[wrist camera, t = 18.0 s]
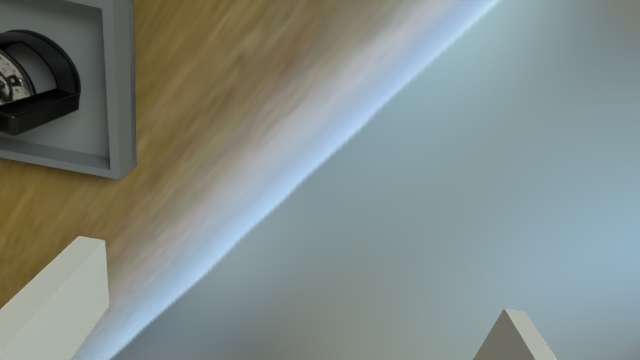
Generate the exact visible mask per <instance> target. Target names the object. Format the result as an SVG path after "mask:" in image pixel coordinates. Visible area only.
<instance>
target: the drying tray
mask: <svg viewBox="0 0 640 360" xmlns="http://www.w3.org/2000/svg"><path fill="white" fill-rule="evenodd" d="M15 29H23V30H30V31H34V32H37V33H40V34H42V35H44V36H46V37H48V38H49V39H51V40H53V41H54V42H56V43H57V44H58V45H59V46H60V47H61V48H62V49H63V50H64V51H65V52H66V53H67V54H68V55H69V57H70V58H71V60H72V61H73V63H74V64H75V66H76V69H77V71H78V73H79V77H80V81H81V94H80V100H79V110H77V111H75V112H72V113H70V114H68V115H65V116H63V117H60V118H58V119H56V120H53V121H51V122H48V123H46V124H44V125H41V126H39V127H36V128H34V129H32V130H29V131H27V132H24V133H22V134H19V135H16V136H12V135H8V134H4V133H1V132H0V158H5V159H11V160H16V161H22V162H27V163H32V164H38V165H43V166H49V167H54V168H59V169H65V170H70V171H75V172H81V173H86V174H92V175H97V176H102V177H108V178H113V179H119V180H120V179H121V178H123V177H124V176H125V175H126V174H127V173H129V172H130V171H131V170H132V169H133V168H134V167H136V117H135V61H134V5H133V0H0V33H4V32H6V31H9V30H15ZM6 52H7V53H9V54H10V55H11V56H12V57H13V58H15V59H16V60H17V61H18V62H19V63H20V64H21V66H22V67H23V68H24V69H25V71H26V72H27V73H28V75H29V76H30V78H31V80H32V82H33V84H34V87H35V89H36V93H37V94H38V93H41V92H45V91H48V90H51V89H55V88H57V86H56V82H55V79H54V77H53V75H52V73H51V71H50V69H49V68H48V66H47V65H46V63H45V62H44V61H43V60H42V58H41V57H40V56H39V55H38V54H37V53H35V52H34V51H33V50H32V49H31V48H29V47H28V46H26V45H25V44H23V43H16V44H13V45H11V46H10V47H9V48H7V49H6Z"/></svg>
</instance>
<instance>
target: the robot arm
mask: <svg viewBox="0 0 640 360" xmlns="http://www.w3.org/2000/svg"><path fill="white" fill-rule="evenodd" d="M108 307H109V294H108V279H107V265H106V250H105V240H99V239H94V238H88V237H82V236H78V237H77V238H76V239H75V240H74V241H73V242H72V243H71V244H70V245H69V246H68V247H67V248H65V249H64V250H63V251H62V252H61V253H60V254H59V255H58V256H57V257H56V258H55V259H54V260H53V261H52V262H51V263H49V264H48V265H47V266H46V267H45V268H44V269H43V270H42V271H41V272H40V273H39V274H38V275H37V276H36V277H34V278H33V279H32V280H31V281H30V282H29V283H28V284H27V285H26V286H25V287H24V288H23V289H22V290H21V291H19V292H18V293H17V294H16V295H15V296H14V297H13V298H12V299H11V300H10V301H9V302H8V303H7V304H6V305H5V306H3V307H2V308H1V309H0V360H71V358H72V357H73V356H74V354H75V353H76V351H77V350H78V349H79V347H80V346H81V344H82V343H83V342H84V340H85V339H86V337H87V336H88V335H89V333H90V332H91V330H92V329H93V328H94V326H95V325H96V323H97V322H98V321H99V319H100V318H101V316H102V315H103V314H104V312H105V311H106V309H107V308H108ZM473 360H557V359H556V357H555V356H554V354H553V353H552V351H551V350H550V348H549V347H548V345H547V344H546V342H545V341H544V339H543V338H542V336H541V335H540V333H539V332H538V330H537V329H536V327H535V326H534V324H533V323H532V321H531V320H530V318H529V317H528V315H527V314H526V312H523V311H517V310H511V309H505V308H504V310H503V311H502V313H501V315H500V316H499V318H498V320H497V321H496V323H495V325H494V326H493V328H492V329H491V331H490V333H489V334H488V336H487V338H486V339H485V341H484V343H483V345H482V346H481V348H480V349H479V351H478V352H477V354H476V356H475V357H474V359H473Z"/></svg>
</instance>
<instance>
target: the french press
mask: <svg viewBox="0 0 640 360" xmlns="http://www.w3.org/2000/svg"><path fill="white" fill-rule="evenodd" d="M16 43H23V44H25V45H26V46H28V47H29V48H31V49H32V50H33V51H34V52H35V53H37V54H38V55H39V56H40V57H41V58H42V60H43V61H44V62H45V63H46V65H47V66H48V68H49V69H50V71H51V73H52V75H53V77H54V79H55V82H56V86H57V88H55V89H51V90H48V91H45V92H41V93H38V94H37V93H36V89H35V87H34V84H33V82H32V80H31V78H30V76H29V75H28V73H27V72H26V71H25V69H24V68H23V67H22V66H21V64H20V63H19V62H18V61H17V60H16V59H15V58H13V57H12V56H11V55H10V54H9V53H7V52H6V49H7V48H9V47H10V46H11V45H13V44H16ZM80 94H81V81H80V77H79V73H78V71H77V69H76V66H75V64H74V63H73V61H72V60H71V58H70V57H69V55H68V54H67V53H66V52H65V51H64V50H63V49H62V48H61V47H60V46H59V45H58V44H57V43H56V42H54V41H53V40H51V39H49V38H48V37H46V36H44V35H42V34H40V33H37V32H34V31H30V30H23V29H15V30H9V31H6V32H4V33H0V132H1V133H4V134H8V135H12V136H16V135H19V134H22V133H24V132H27V131H29V130H32V129H34V128H36V127H39V126H41V125H44V124H46V123H48V122H51V121H53V120H56V119H58V118H60V117H63V116H65V115H68V114H70V113H72V112H75V111H77V110H79V100H80Z"/></svg>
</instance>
